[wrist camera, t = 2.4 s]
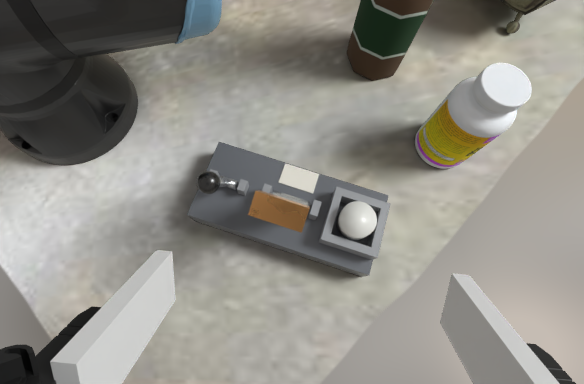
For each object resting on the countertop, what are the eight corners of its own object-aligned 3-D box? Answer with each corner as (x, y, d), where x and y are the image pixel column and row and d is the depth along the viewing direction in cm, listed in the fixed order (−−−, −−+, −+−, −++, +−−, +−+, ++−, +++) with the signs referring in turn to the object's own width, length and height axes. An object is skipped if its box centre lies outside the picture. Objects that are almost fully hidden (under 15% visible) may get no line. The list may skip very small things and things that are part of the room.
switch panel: (361, 276, 36) (374, 274, 31) (194, 220, 37) (181, 209, 32) (380, 202, 39) (394, 189, 34) (223, 152, 40) (215, 133, 35)
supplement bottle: (448, 180, 40) (523, 130, 28) (403, 149, 41) (456, 88, 29) (474, 142, 42) (555, 79, 30) (430, 113, 43) (490, 41, 31)
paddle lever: (305, 215, 35) (301, 232, 23) (270, 204, 35) (247, 215, 23) (311, 199, 35) (309, 208, 23) (275, 188, 35) (255, 190, 23)
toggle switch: (235, 194, 35) (212, 197, 27) (218, 188, 35) (190, 190, 27) (240, 176, 35) (219, 174, 27) (223, 171, 35) (197, 167, 27)
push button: (366, 244, 33) (372, 242, 31) (332, 234, 33) (336, 230, 31) (374, 212, 34) (380, 207, 32) (342, 201, 34) (345, 196, 33)
